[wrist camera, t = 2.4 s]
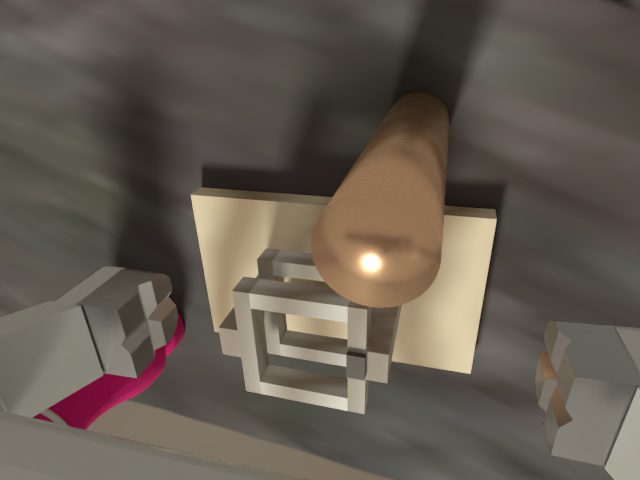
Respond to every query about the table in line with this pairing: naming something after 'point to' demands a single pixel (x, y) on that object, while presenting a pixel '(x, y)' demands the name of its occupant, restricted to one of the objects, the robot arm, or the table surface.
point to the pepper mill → (108, 391)
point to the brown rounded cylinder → (389, 210)
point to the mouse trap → (330, 299)
